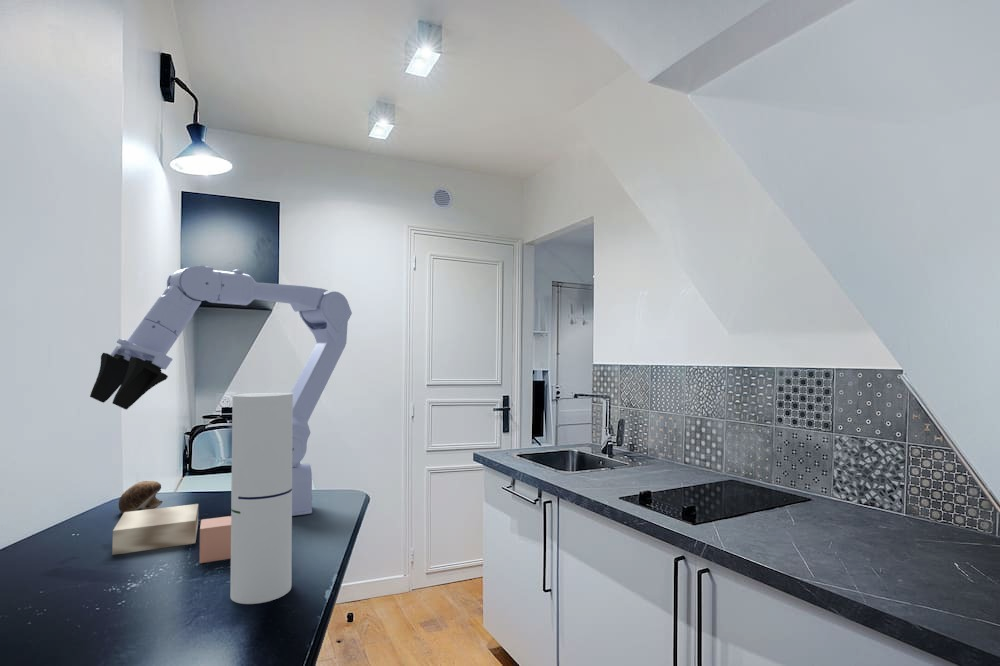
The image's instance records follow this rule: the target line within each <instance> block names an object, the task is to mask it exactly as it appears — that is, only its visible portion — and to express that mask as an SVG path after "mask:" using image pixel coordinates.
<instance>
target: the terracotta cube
mask: <svg viewBox="0 0 1000 666" xmlns="http://www.w3.org/2000/svg"><path fill="white" fill-rule="evenodd" d="M229 559H230V560H231V515H230V516H229V515H228V516H220V517H212V518H203V519H200V527H199V564H203V563H204V564H205V563H211V562H216V561H222V560H223V561H224V560H229Z"/></svg>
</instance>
